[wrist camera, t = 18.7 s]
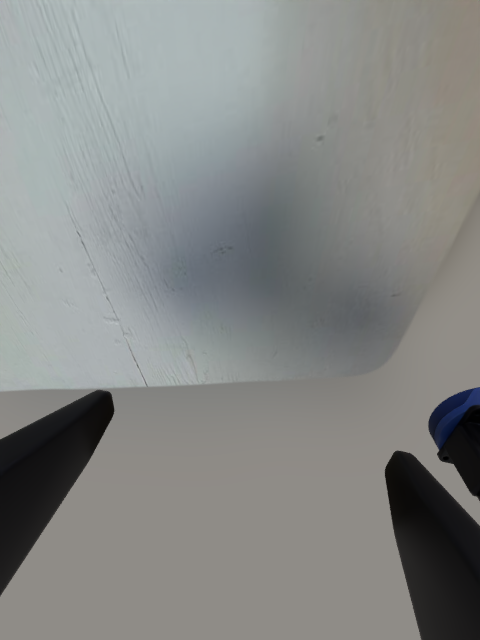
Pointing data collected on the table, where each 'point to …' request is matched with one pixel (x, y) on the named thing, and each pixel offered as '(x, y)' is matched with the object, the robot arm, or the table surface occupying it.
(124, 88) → the table surface
